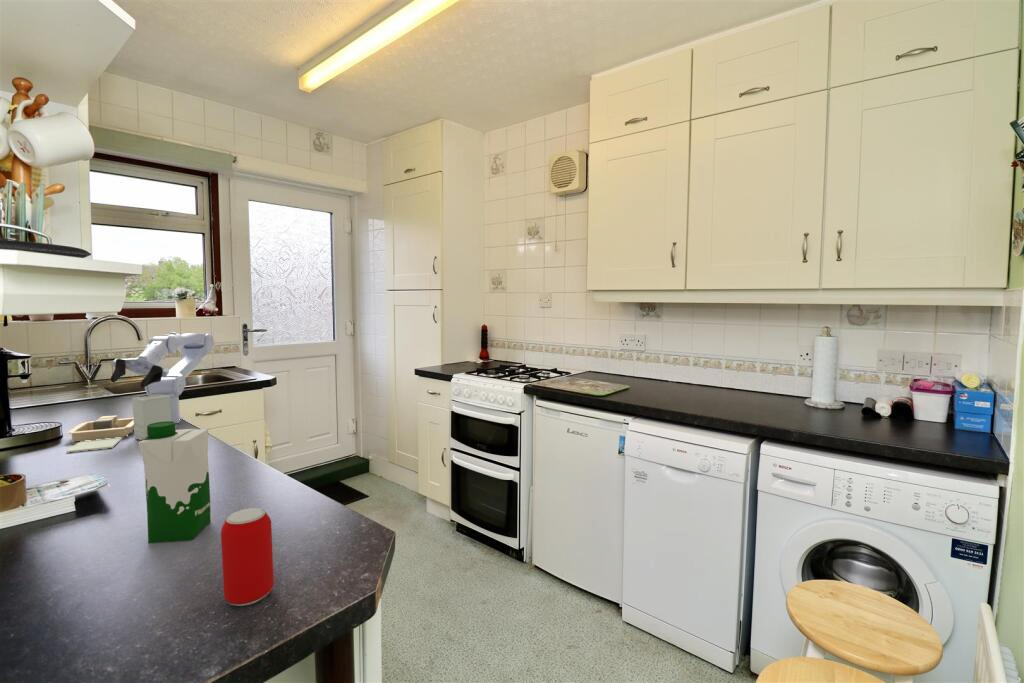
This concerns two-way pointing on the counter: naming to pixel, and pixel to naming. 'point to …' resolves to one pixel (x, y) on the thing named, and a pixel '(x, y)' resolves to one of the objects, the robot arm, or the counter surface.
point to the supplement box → (149, 412)
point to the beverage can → (247, 556)
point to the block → (105, 422)
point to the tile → (94, 445)
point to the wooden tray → (101, 430)
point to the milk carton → (176, 482)
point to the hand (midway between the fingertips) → (127, 382)
